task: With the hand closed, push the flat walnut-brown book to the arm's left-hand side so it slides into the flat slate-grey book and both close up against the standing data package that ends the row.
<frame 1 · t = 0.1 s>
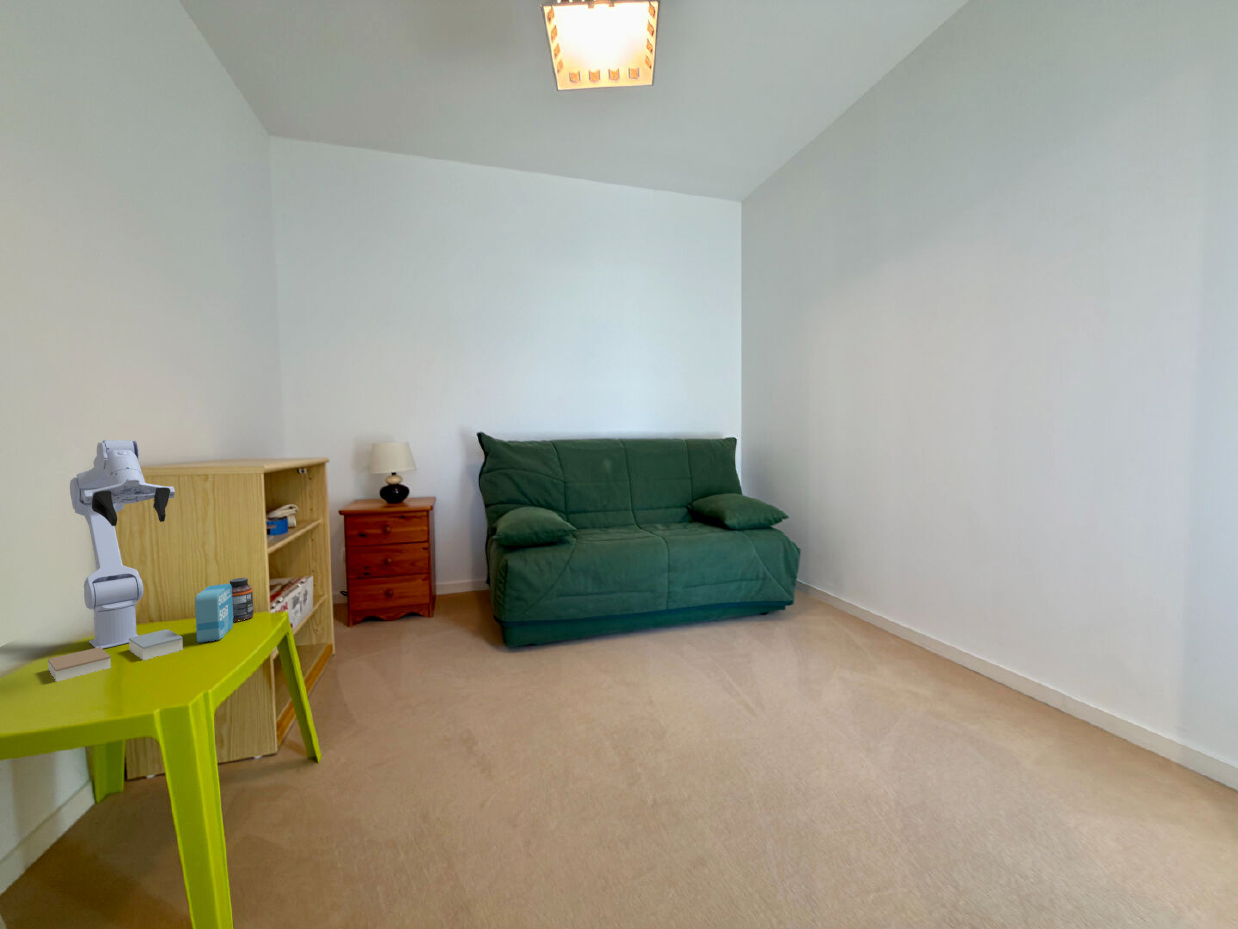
hand: (139, 520, 109), 32 cm above the table, tool tilted 50°, fingers open, 7 cm apart
book walnut: (79, 671, 109), on the table
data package: (216, 636, 129), on the table
book grey: (156, 652, 120), on the table
supplement bottle: (240, 620, 142), on the table
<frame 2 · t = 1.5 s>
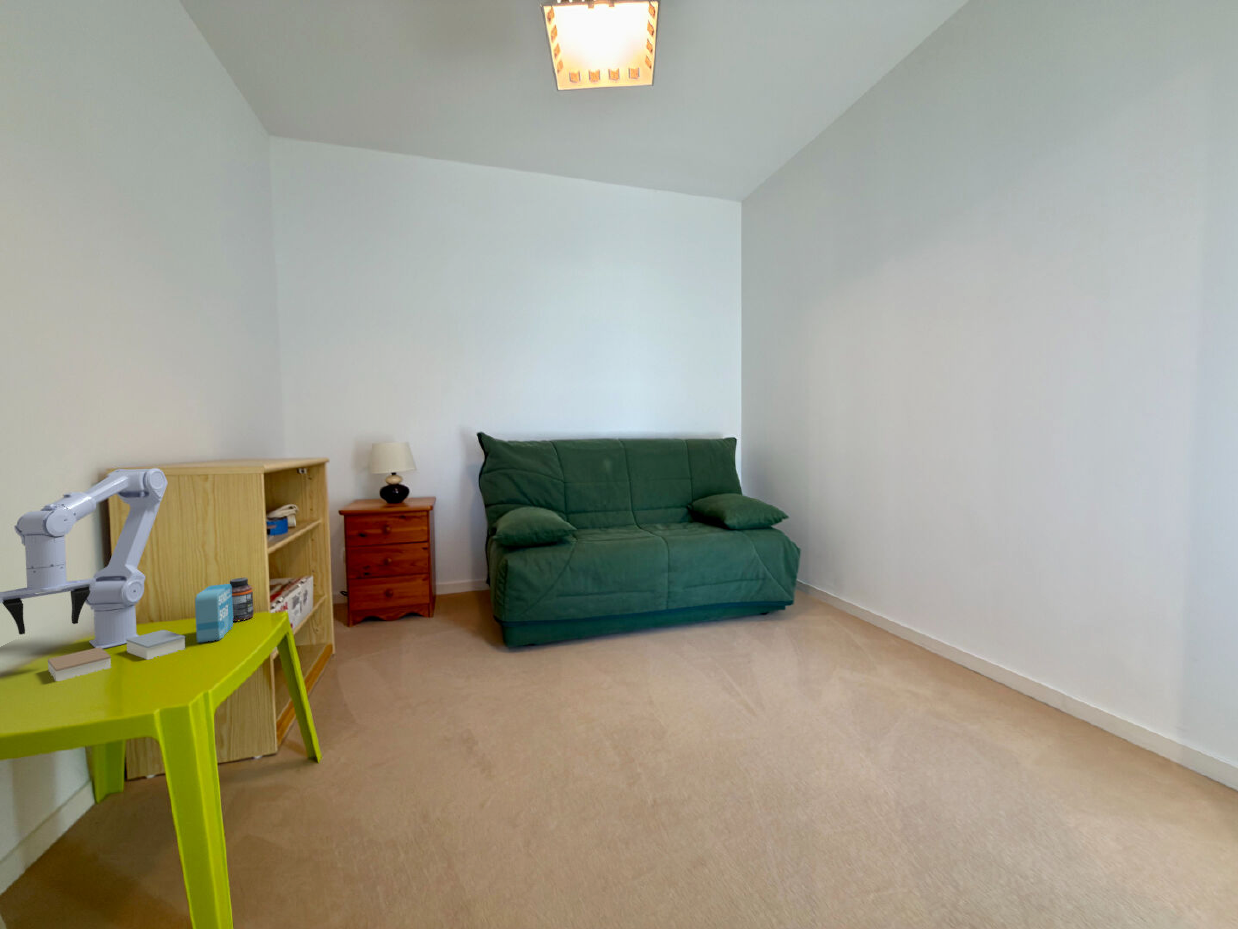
hand: (49, 628, 110), 9 cm above the table, tool pointing down, fingers open, 7 cm apart
nothing on the table moved.
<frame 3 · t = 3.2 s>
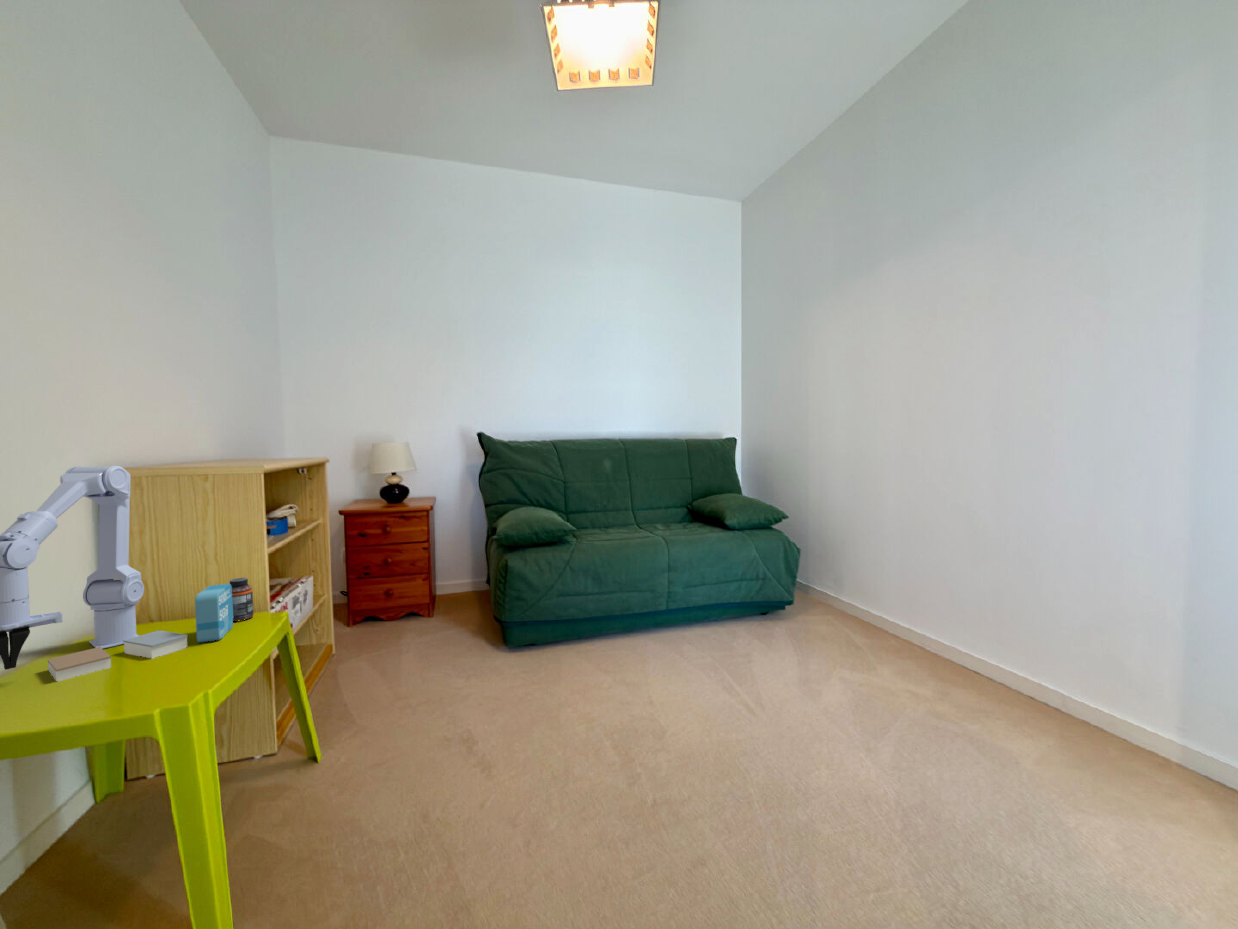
hand: (10, 667, 101), 4 cm above the table, tool pointing down, fingers closed
nothing on the table moved.
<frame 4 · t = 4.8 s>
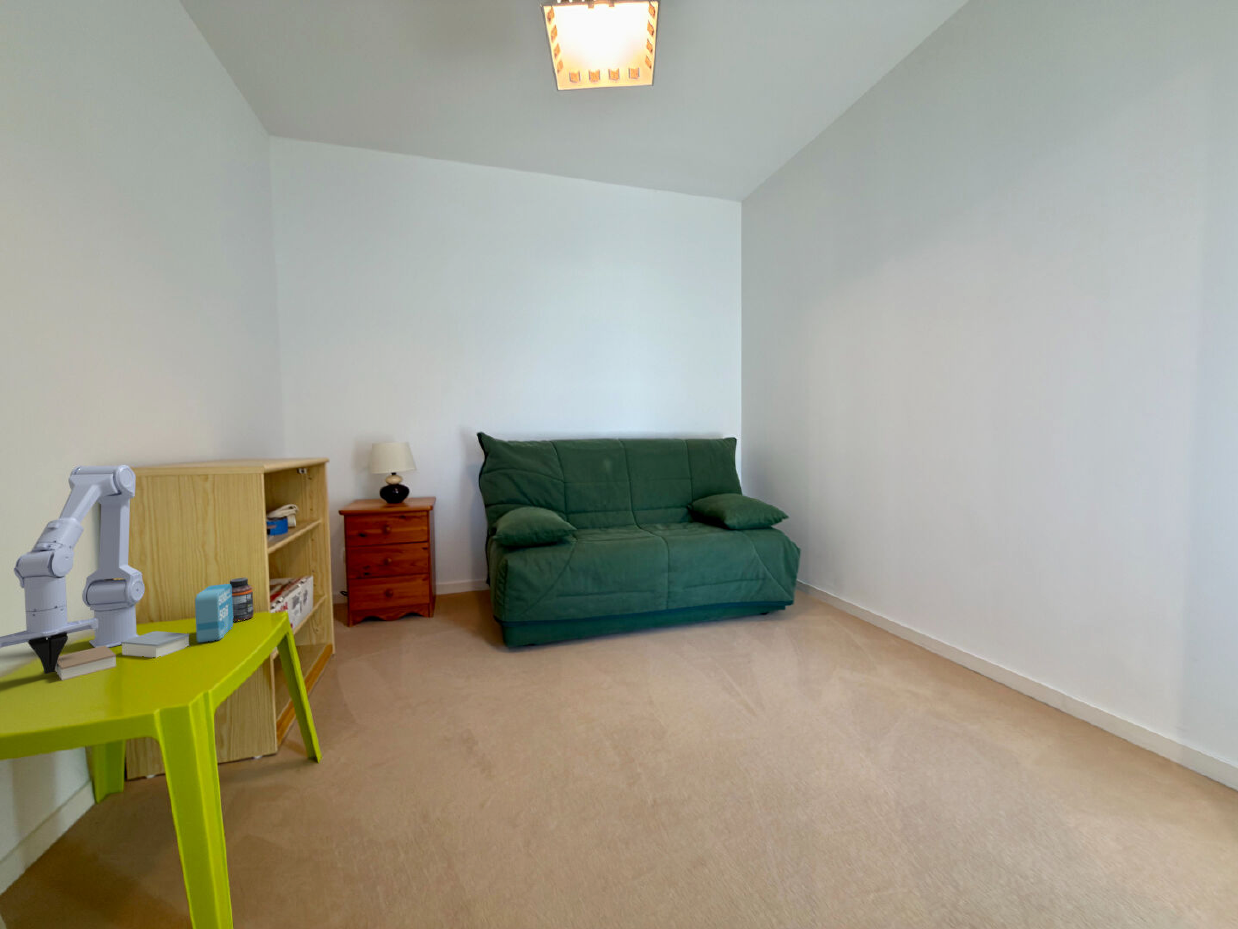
hand: (49, 672, 106), 1 cm above the table, tool pointing down, fingers closed
book walnut: (85, 669, 110), on the table, touching gripper
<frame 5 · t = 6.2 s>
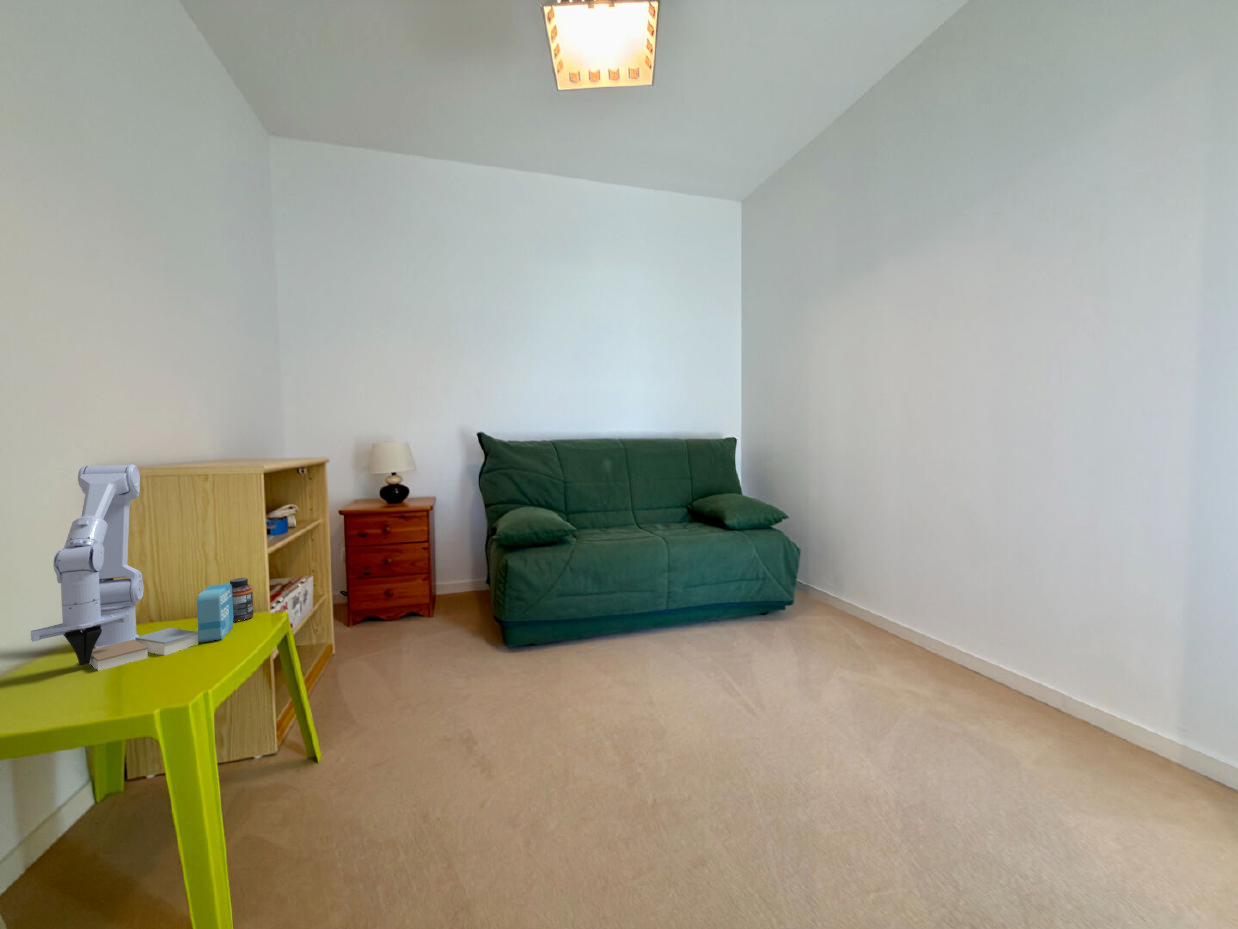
hand: (84, 663, 110), 1 cm above the table, tool pointing down, fingers closed
book walnut: (117, 662, 114), on the table
book grey: (168, 648, 121), on the table
everything else where it was.
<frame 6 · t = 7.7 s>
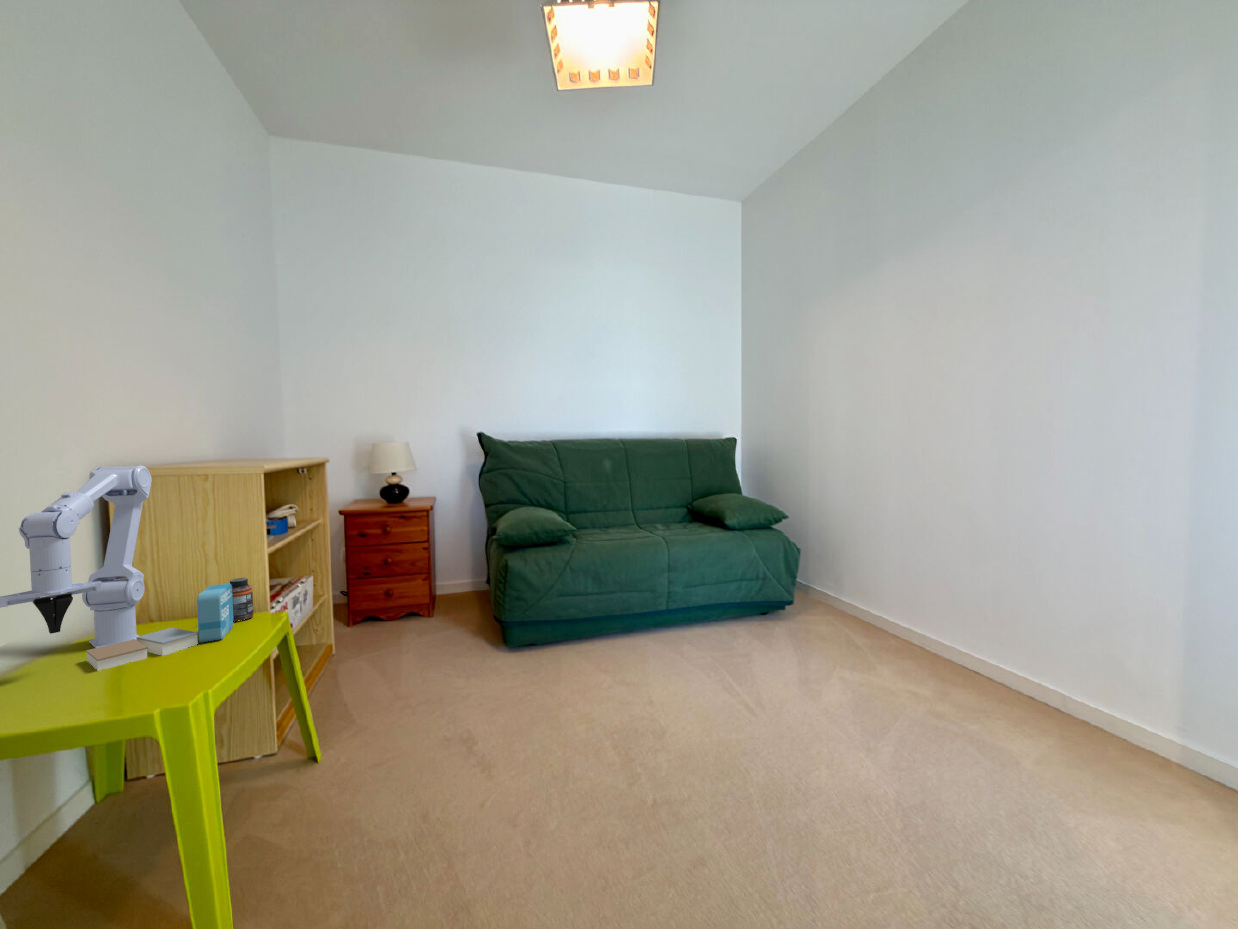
hand: (54, 632, 107), 9 cm above the table, tool pointing down, fingers closed
nothing on the table moved.
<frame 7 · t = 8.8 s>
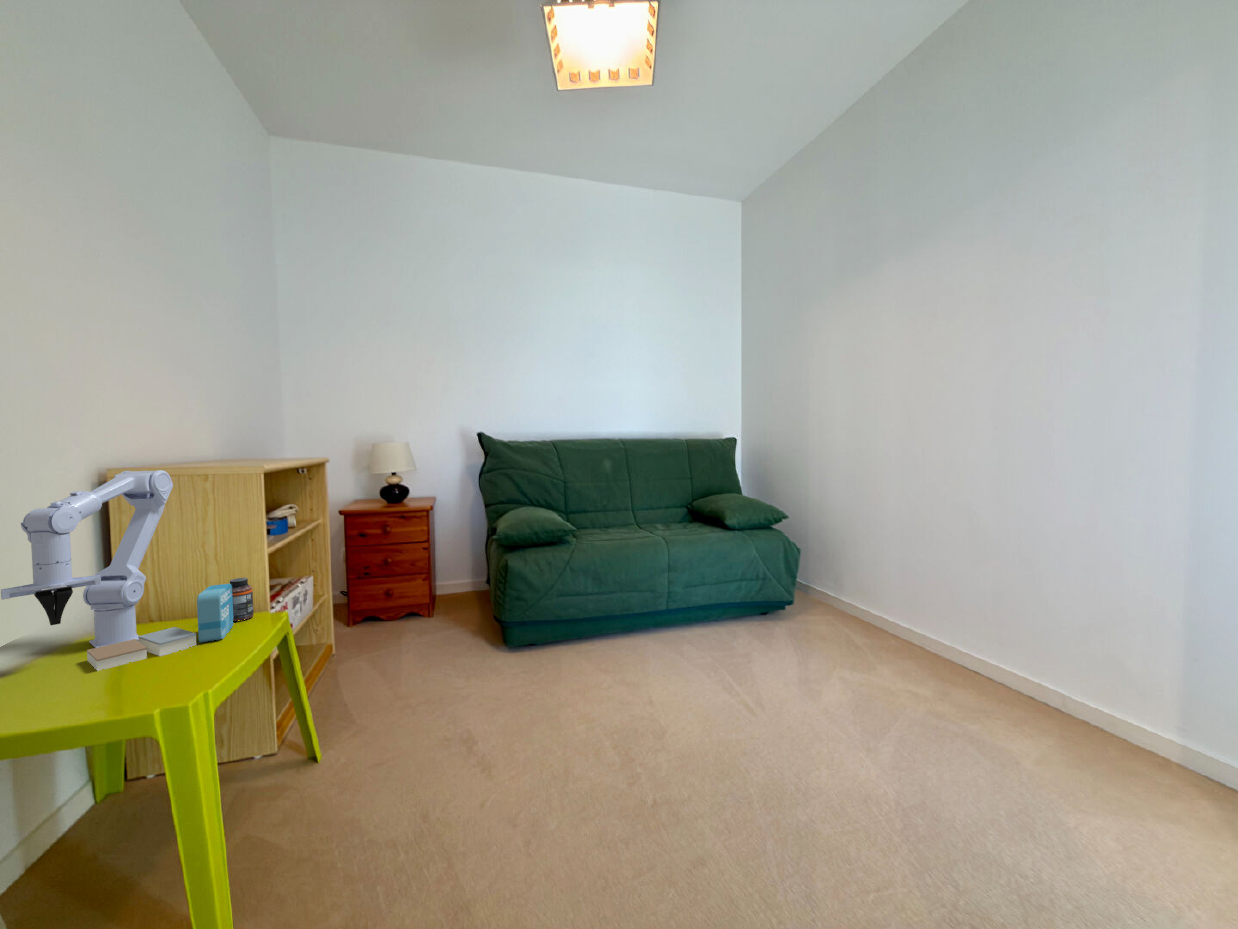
hand: (55, 623, 111), 9 cm above the table, tool pointing down, fingers closed
nothing on the table moved.
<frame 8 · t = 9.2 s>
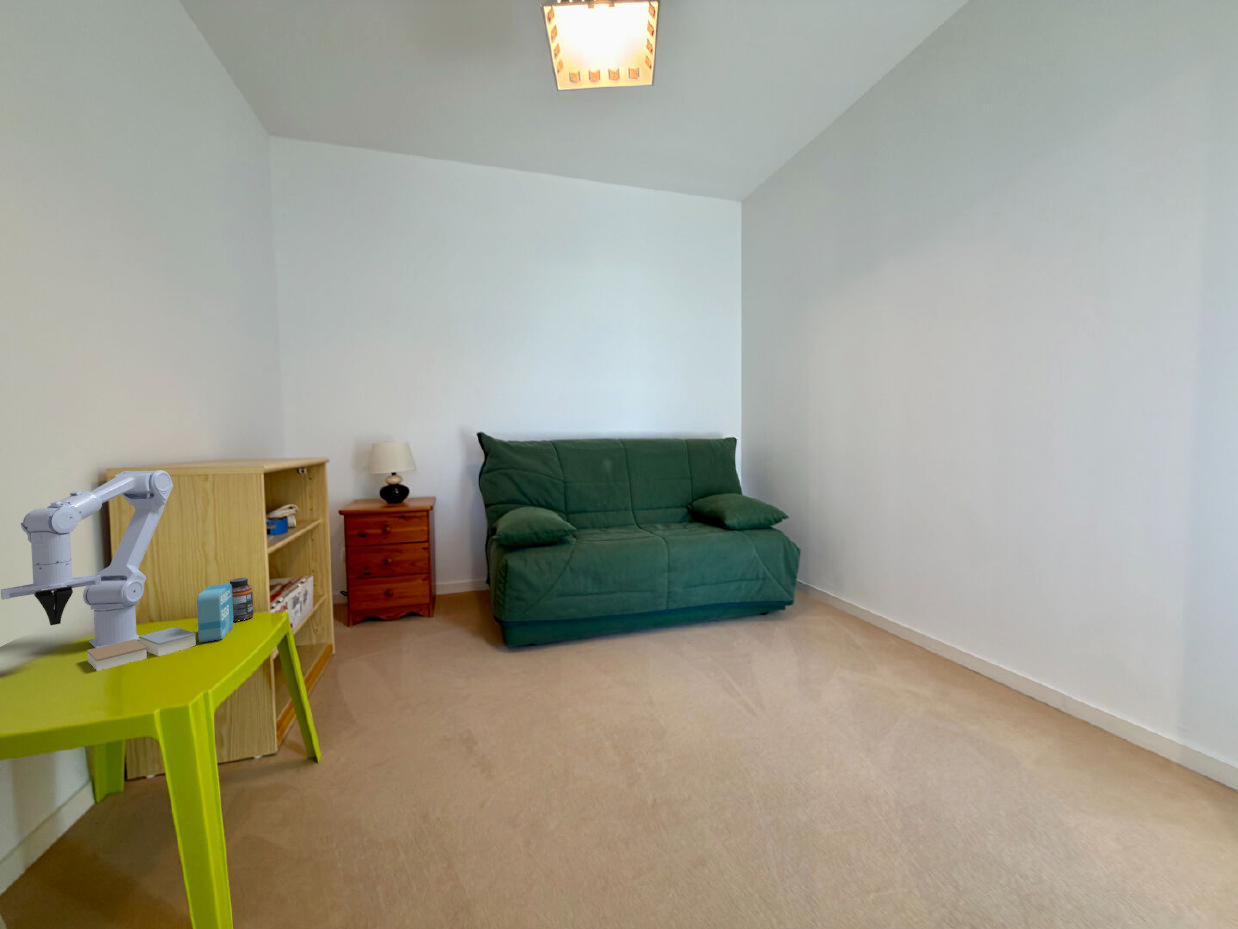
hand: (55, 623, 111), 9 cm above the table, tool pointing down, fingers closed
nothing on the table moved.
at the end: book walnut 8.8 cm from the book grey (horizontally); book grey 9.6 cm from the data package (horizontally); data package moved 0.3 cm from its start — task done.
